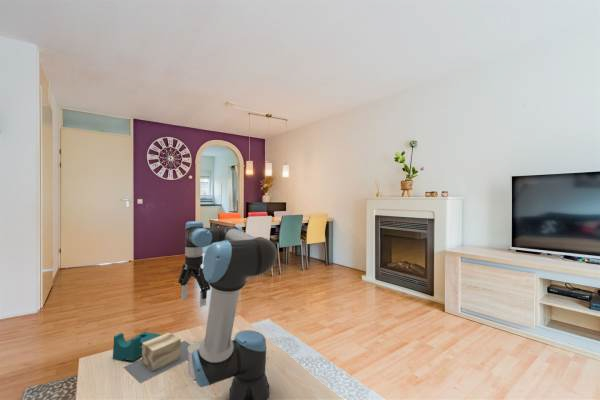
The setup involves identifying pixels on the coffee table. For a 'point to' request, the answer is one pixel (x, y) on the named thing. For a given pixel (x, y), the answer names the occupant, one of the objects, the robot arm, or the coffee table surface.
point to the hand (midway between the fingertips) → (193, 302)
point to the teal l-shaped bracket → (130, 346)
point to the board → (144, 373)
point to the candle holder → (191, 348)
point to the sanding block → (160, 351)
